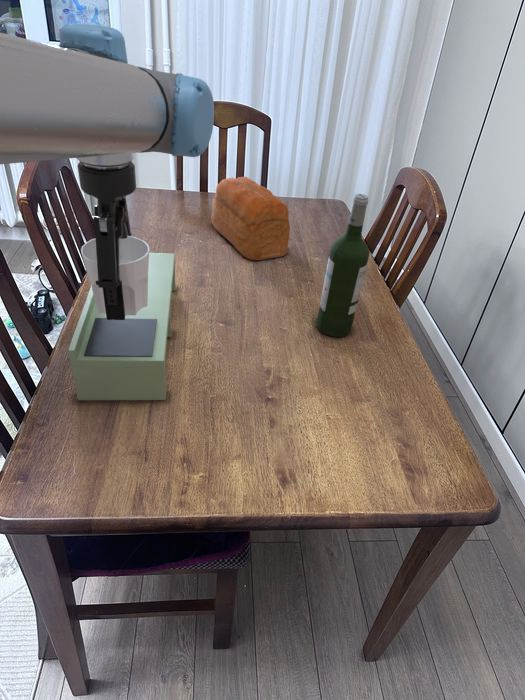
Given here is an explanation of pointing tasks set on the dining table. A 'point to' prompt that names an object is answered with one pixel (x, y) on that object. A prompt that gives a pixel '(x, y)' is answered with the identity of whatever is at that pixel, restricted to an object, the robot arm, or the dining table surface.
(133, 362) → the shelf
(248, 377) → the dining table surface
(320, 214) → the dining table surface
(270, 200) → the bread
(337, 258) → the wine bottle
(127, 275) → the cup
